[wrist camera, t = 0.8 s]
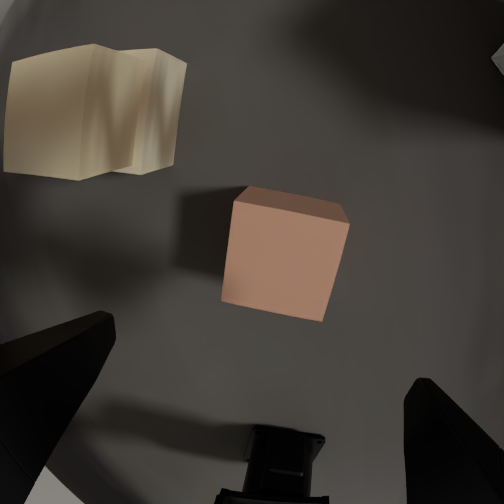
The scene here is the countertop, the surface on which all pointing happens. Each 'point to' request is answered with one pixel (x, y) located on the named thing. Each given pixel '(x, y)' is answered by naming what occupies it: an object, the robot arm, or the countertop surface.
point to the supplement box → (499, 59)
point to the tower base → (157, 111)
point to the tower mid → (72, 112)
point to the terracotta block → (283, 252)
